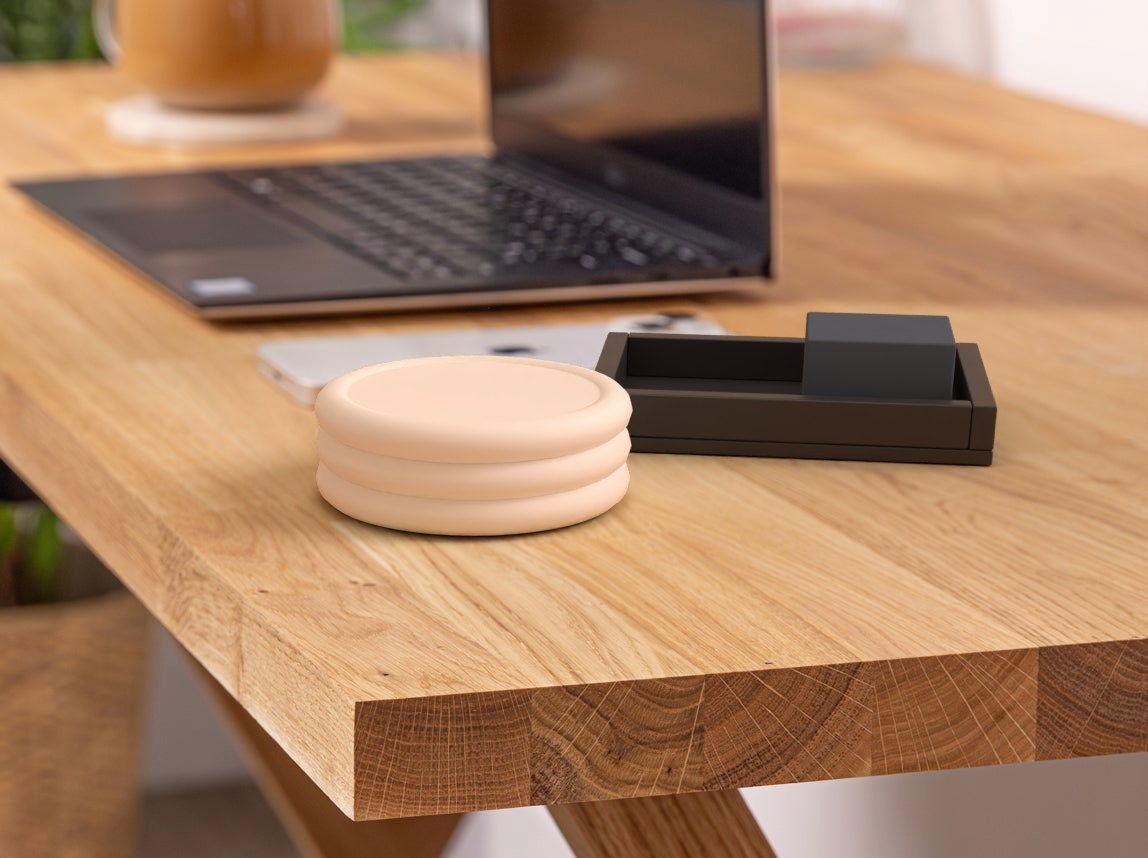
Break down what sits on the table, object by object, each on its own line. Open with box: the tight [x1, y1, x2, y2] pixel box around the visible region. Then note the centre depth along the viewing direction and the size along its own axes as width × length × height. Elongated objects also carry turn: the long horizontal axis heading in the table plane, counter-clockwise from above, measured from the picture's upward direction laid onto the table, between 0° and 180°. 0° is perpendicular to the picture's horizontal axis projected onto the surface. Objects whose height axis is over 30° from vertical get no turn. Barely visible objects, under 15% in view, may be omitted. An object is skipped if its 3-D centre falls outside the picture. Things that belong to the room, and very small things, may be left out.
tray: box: [594, 331, 998, 466], centre depth 80 cm, size 14×10×2 cm
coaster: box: [313, 354, 633, 537], centre depth 72 cm, size 10×10×4 cm
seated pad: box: [802, 311, 957, 400], centre depth 79 cm, size 5×5×3 cm
